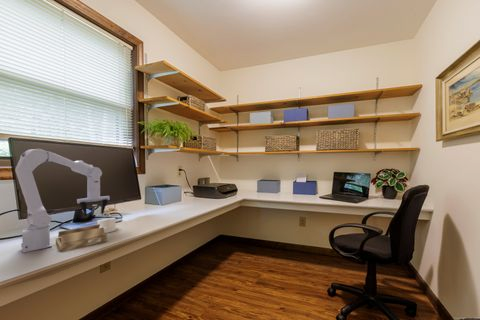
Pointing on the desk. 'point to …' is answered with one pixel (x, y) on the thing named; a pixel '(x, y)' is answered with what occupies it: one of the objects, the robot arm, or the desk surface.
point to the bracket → (107, 224)
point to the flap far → (78, 230)
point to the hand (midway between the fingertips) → (94, 214)
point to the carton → (80, 242)
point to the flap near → (82, 235)
